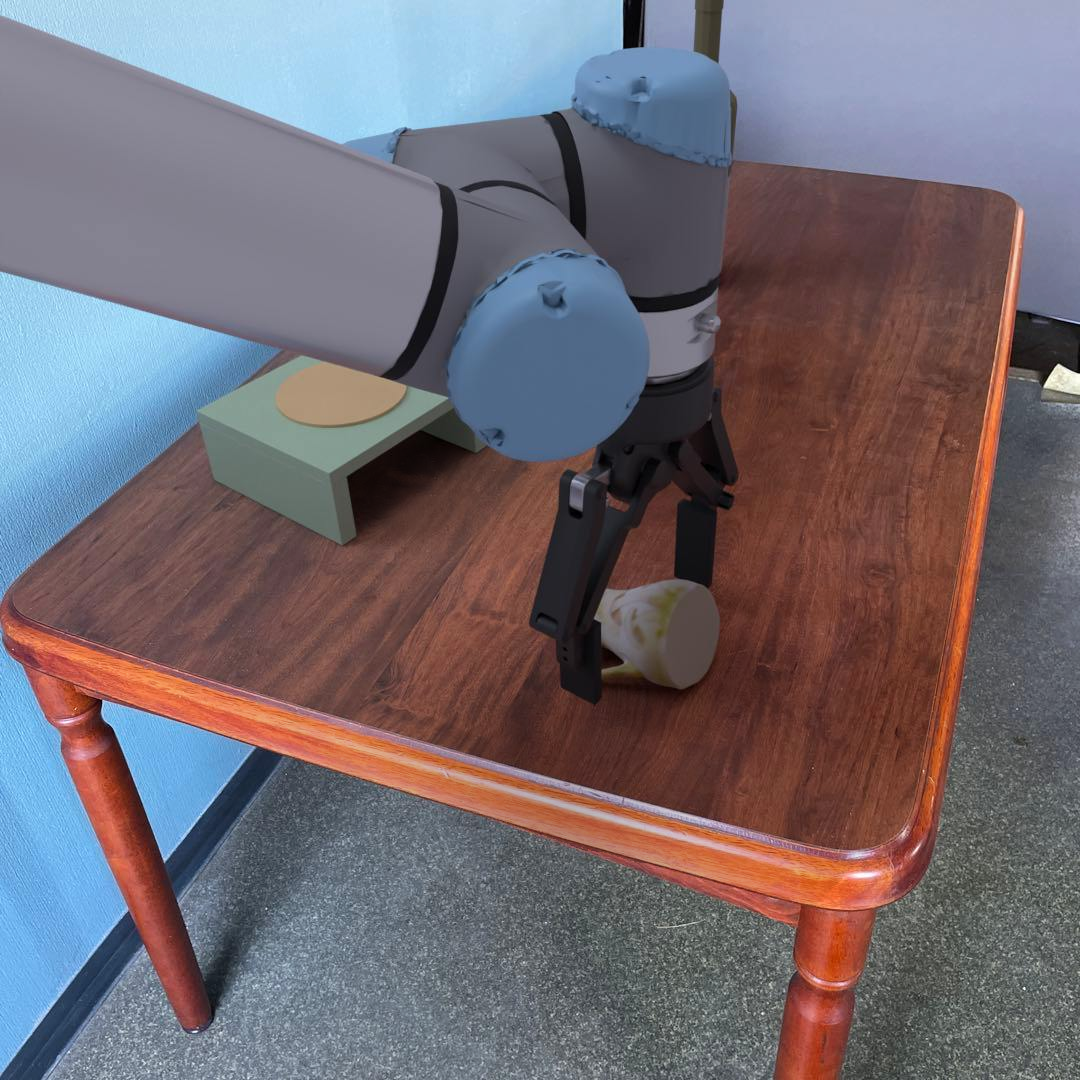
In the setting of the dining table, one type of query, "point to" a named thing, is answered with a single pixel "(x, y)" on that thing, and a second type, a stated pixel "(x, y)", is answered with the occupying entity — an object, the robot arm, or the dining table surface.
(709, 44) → the bottle
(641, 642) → the mug
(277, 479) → the shelf
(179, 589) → the dining table surface
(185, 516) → the dining table surface
